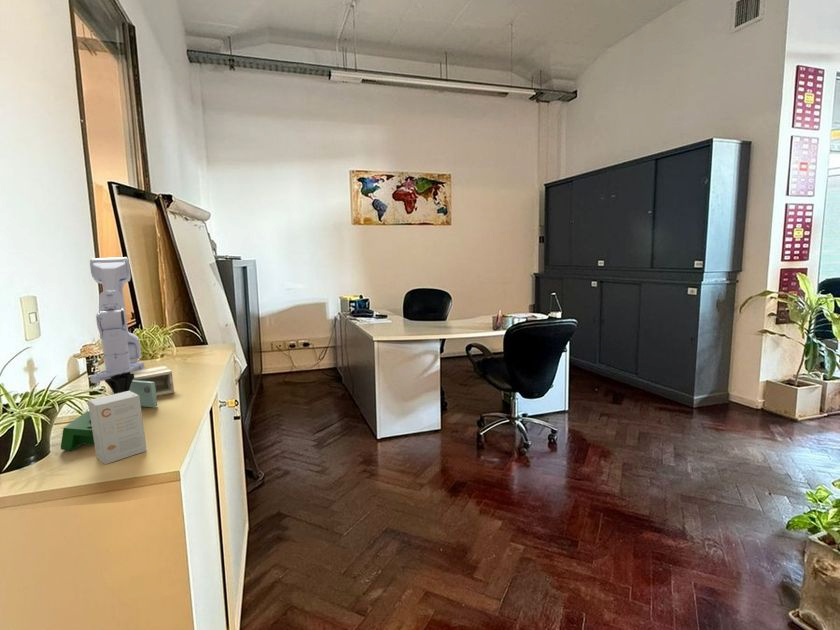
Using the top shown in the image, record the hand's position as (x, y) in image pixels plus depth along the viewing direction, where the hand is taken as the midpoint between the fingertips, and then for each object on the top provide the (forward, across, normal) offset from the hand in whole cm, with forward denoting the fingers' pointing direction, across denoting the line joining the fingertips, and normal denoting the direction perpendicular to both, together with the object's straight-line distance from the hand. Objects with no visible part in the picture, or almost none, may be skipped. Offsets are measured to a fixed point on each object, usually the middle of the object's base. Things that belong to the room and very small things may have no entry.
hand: (122, 400), depth 124 cm
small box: (+4, -21, -24) cm, 32 cm away
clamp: (+4, -17, -10) cm, 20 cm away
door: (+3, +5, +1) cm, 6 cm away
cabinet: (+3, +15, +8) cm, 17 cm away
